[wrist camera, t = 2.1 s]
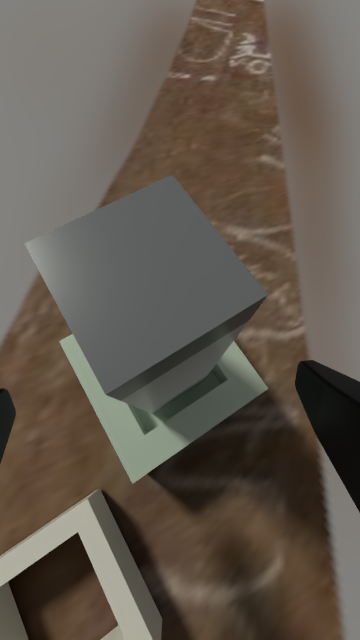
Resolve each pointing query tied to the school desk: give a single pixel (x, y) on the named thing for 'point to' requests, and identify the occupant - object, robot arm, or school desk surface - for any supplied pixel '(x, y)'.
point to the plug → (148, 292)
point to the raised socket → (167, 409)
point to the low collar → (108, 562)
